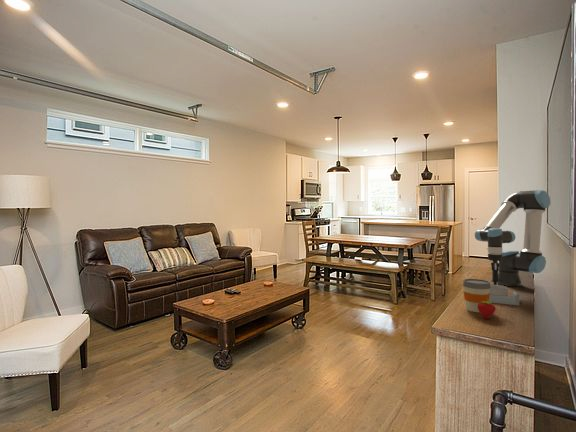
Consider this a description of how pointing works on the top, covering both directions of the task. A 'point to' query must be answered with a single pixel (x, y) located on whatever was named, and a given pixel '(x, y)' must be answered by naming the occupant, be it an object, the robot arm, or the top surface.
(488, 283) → the reusable coffee cup
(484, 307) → the strawberry
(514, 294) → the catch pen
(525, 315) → the top surface
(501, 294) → the teacup
